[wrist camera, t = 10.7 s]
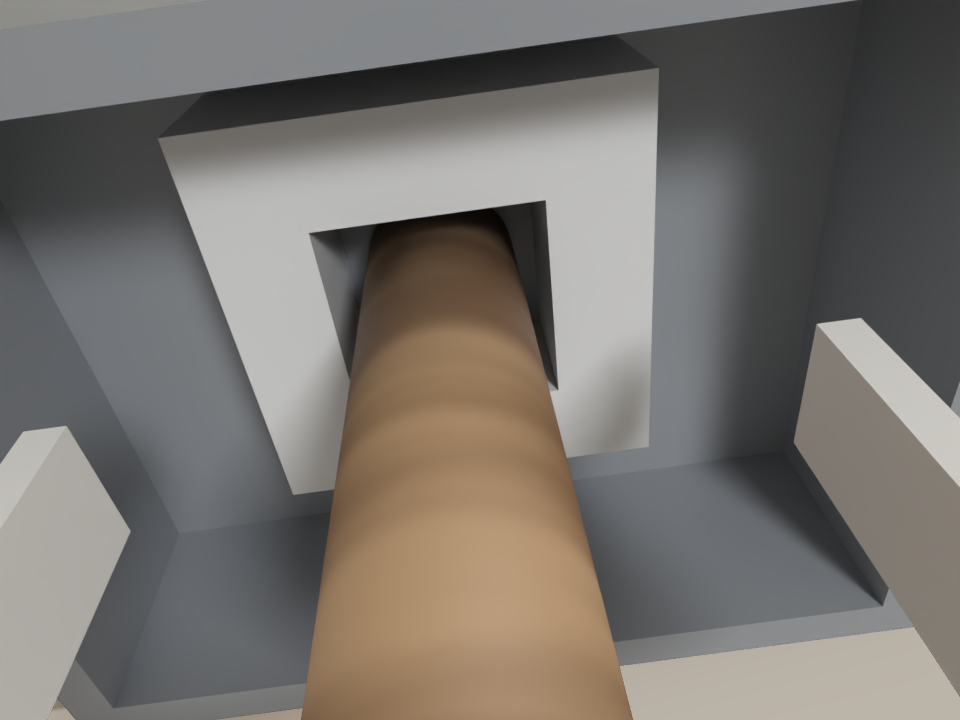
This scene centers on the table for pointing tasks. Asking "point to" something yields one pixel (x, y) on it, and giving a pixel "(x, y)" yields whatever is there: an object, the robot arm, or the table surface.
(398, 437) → the peg
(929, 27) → the crate
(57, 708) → the table surface
